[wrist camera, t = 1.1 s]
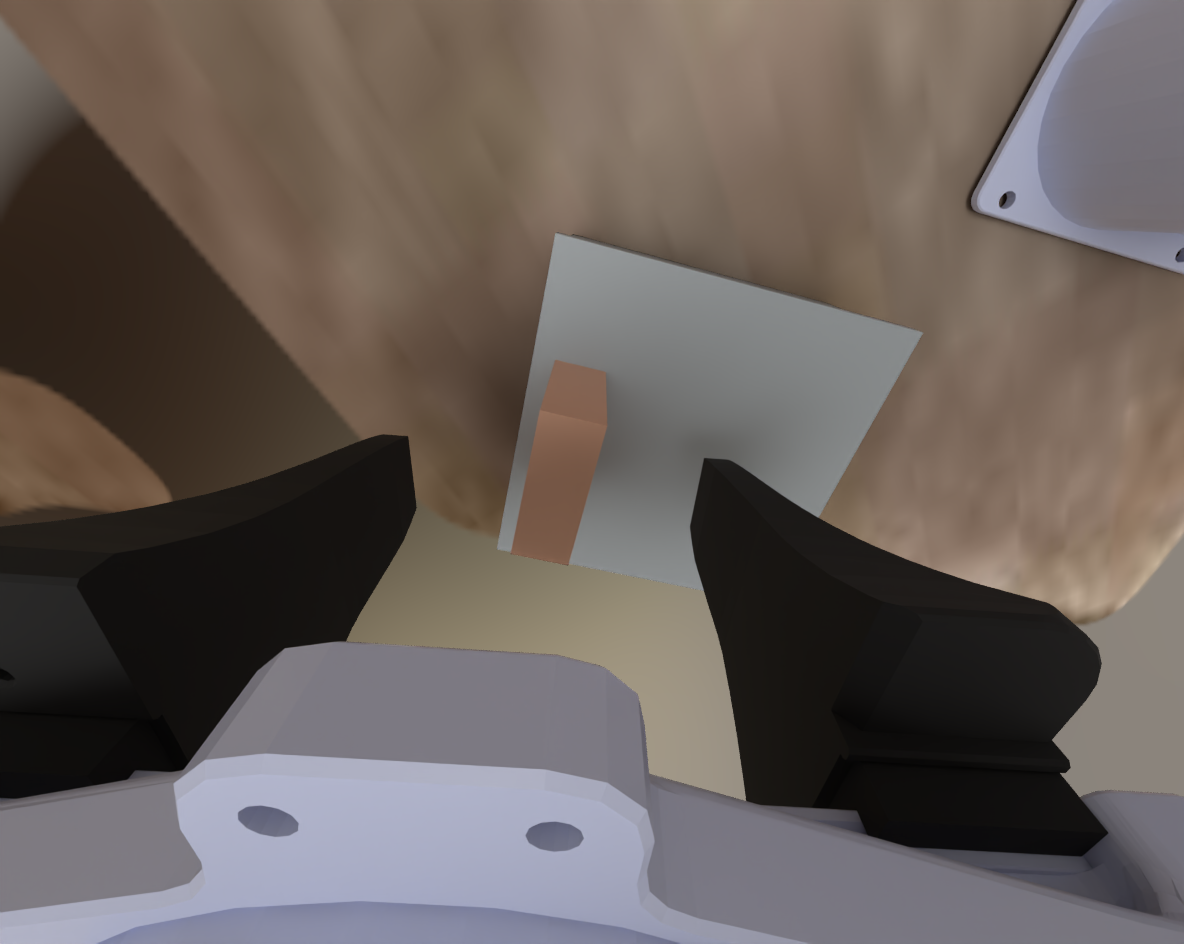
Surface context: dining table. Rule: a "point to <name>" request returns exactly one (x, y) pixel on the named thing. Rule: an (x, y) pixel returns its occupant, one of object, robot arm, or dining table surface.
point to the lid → (679, 405)
